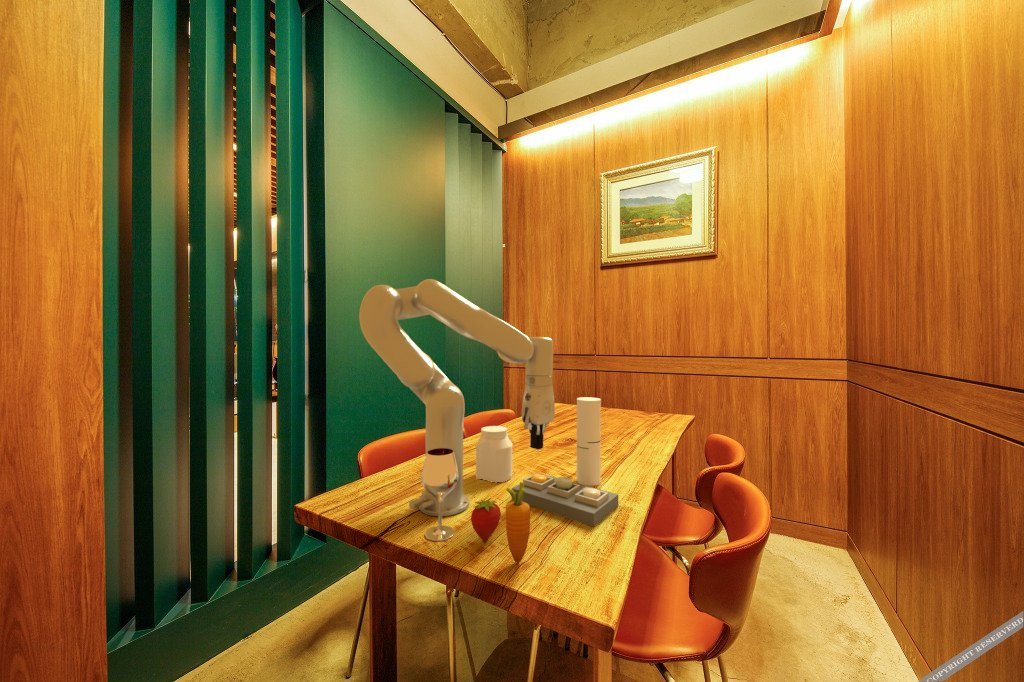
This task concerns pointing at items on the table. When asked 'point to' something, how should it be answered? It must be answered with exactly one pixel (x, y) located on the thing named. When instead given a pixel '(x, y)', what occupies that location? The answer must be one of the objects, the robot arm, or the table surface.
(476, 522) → the strawberry
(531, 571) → the table surface
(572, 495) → the button panel
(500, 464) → the jar
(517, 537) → the carrot
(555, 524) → the table surface
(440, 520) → the wineglass
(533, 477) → the amber button
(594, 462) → the cylindrical container
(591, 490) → the cream button
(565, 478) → the sage button
